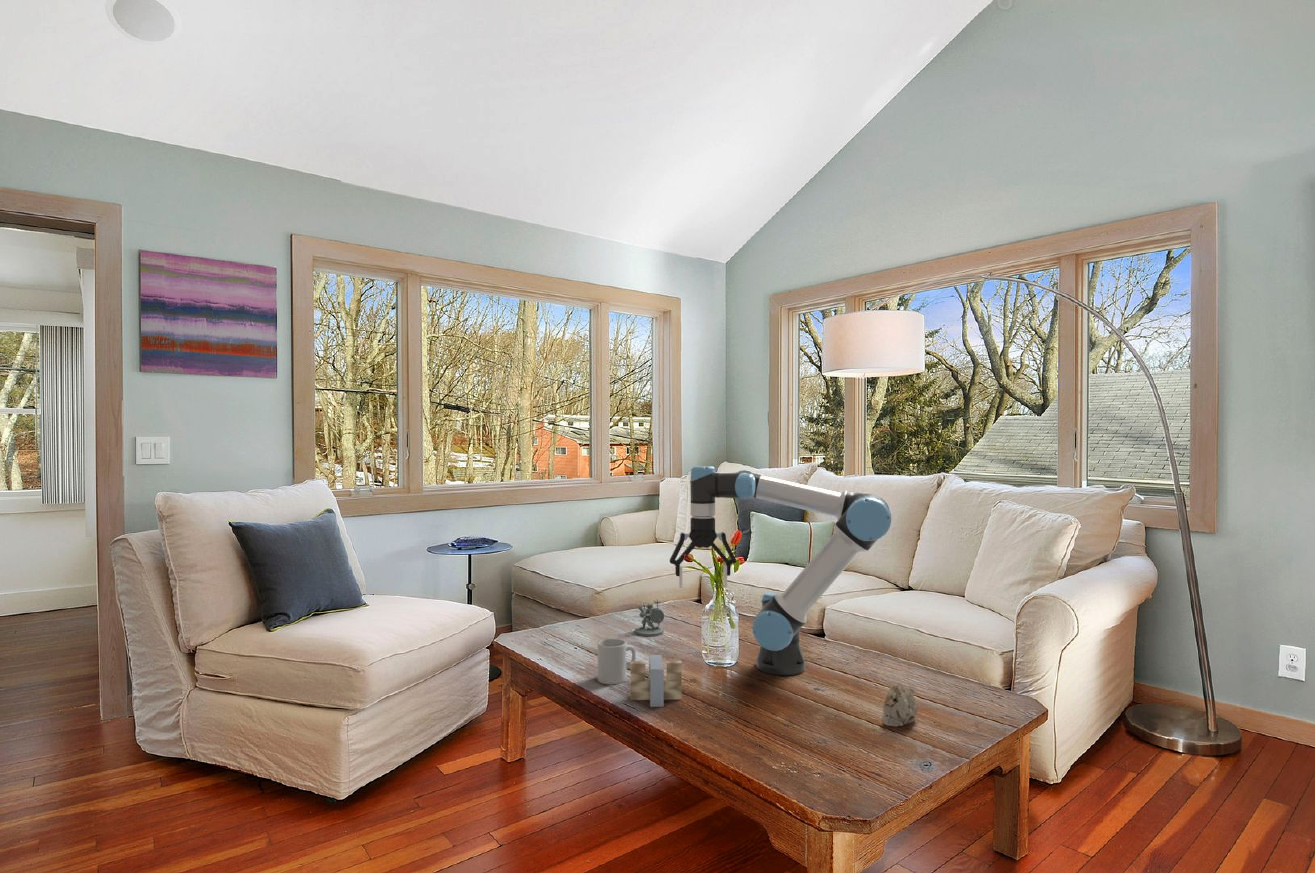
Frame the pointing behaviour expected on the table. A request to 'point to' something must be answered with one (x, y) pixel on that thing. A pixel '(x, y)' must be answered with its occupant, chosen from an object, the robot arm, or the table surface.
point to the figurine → (650, 621)
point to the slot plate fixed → (642, 685)
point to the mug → (613, 660)
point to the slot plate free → (656, 681)
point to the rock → (899, 706)
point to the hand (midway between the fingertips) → (702, 586)
